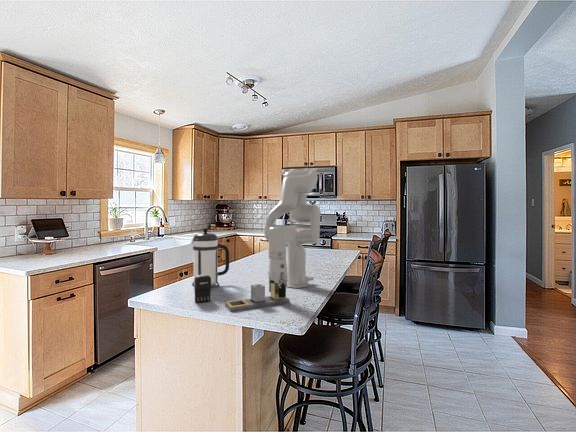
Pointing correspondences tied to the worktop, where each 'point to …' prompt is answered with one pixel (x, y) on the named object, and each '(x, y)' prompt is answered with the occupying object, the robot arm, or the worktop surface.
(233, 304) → the grey block holder rack
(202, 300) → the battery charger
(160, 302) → the worktop surface
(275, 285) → the wooden block with knob
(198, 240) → the coffee press
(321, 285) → the worktop surface
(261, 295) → the grey block with knob
